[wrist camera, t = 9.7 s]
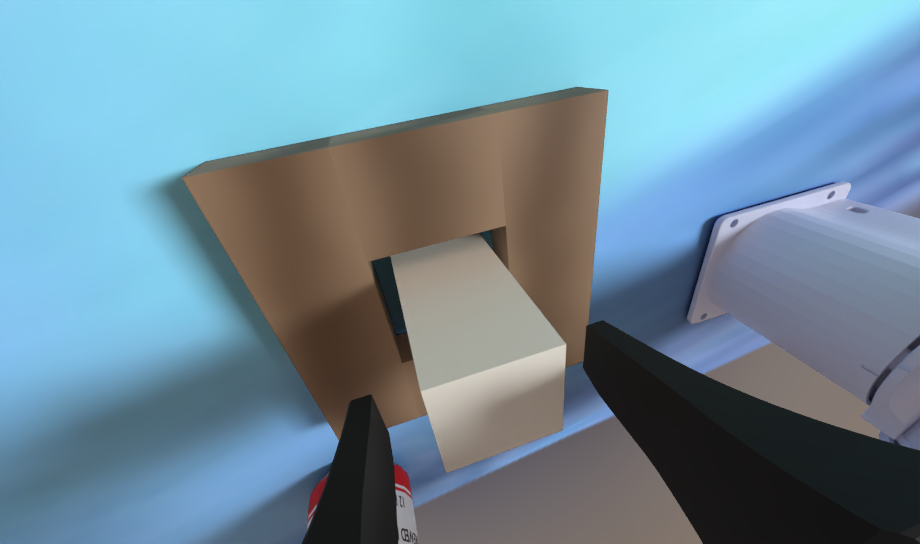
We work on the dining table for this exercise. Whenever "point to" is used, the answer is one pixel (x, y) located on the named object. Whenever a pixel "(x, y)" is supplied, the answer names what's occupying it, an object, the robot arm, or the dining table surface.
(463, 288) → the peg
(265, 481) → the dining table surface
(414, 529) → the beer can
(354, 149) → the slotted board
